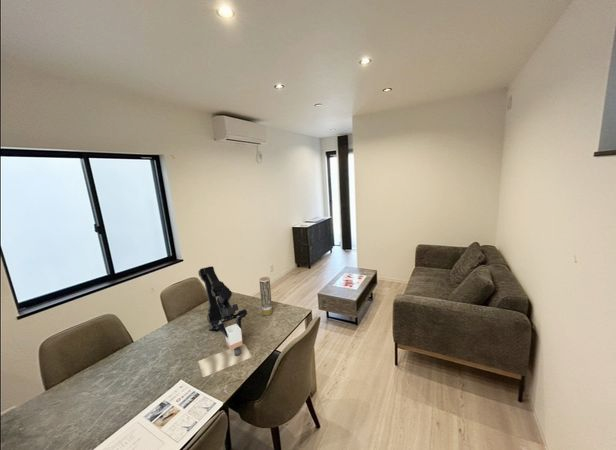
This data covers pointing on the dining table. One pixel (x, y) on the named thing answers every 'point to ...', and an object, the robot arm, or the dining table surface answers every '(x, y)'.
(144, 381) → the dining table surface
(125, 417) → the dining table surface
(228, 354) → the pin board
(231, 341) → the sleeve
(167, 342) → the dining table surface
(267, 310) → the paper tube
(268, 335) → the dining table surface
